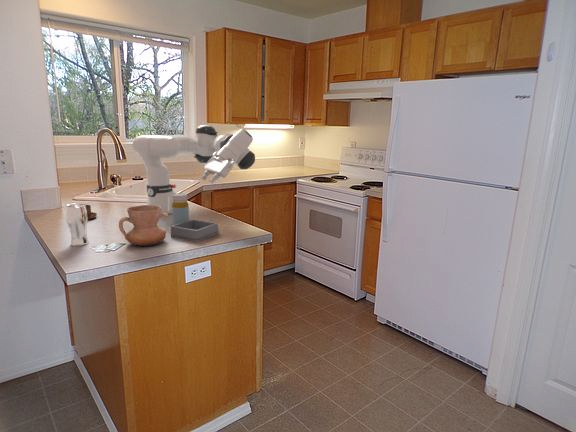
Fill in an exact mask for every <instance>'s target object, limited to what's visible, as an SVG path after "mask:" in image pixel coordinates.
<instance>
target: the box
mask: <svg viewBox="0 0 576 432" xmlns="http://www.w3.org/2000/svg"><path fill="white" fill-rule="evenodd" d="M217 234H219V223H217V222H213V221H205V220H199V219H195V218H192V219H189V221H185V222H182V223H179V224H176V225H173V224H172V225H170V237H171V238H176V239H180V240H186V241H191V242H196V243H197V242H200V241H203V240H205V239H208V238H211V237H213V236H215V235H217Z"/></svg>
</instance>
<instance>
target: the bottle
mask: <svg viewBox="0 0 576 432" xmlns="http://www.w3.org/2000/svg"><path fill="white" fill-rule="evenodd" d="M176 193H177V194H173V195H172V196H173V204H172V213H171V214H172V226H173V225H176V224H179V223H182V222H185V221H189V220H190V207H189V202H188V194H187V193H182V192H176Z"/></svg>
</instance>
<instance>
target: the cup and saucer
mask: <svg viewBox="0 0 576 432" xmlns="http://www.w3.org/2000/svg"><path fill="white" fill-rule="evenodd" d="M85 206H86V211H87V221H88V220H91V219H94V218H96V217H97V215H98V214H97V212H93V211H92V208H91V204H90V205H89V204H85Z"/></svg>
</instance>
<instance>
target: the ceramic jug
mask: <svg viewBox="0 0 576 432" xmlns="http://www.w3.org/2000/svg"><path fill="white" fill-rule="evenodd" d="M126 211H127V214H128V216H124V217H121V218H120V220H119V221H118V228H119V231H120V232H121V234H122V235H123V236H124V239H125V240H126V241H127V242H128V243H129V244H132V245H134V246H139V247H145V246H146V247H148V246H155V245H158V244H159V243H161V242H163V241H164V240H165V239H166V236H167V235H166V234H167V230H165V229H164V228H162V227H160V226H159V225H158V223H159V222H160V221H159V220H160V219H161V218H163V217H168V214H169V213H162V214H161V207H160V206H158V205H147V204H141V205H135V206H129V207H127V210H126ZM124 222H129V223H130V224H132V225H133V227H132V228H131V229H130V230H129V231H128V232H126V231H125V229H124V227H123V226H124Z"/></svg>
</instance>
